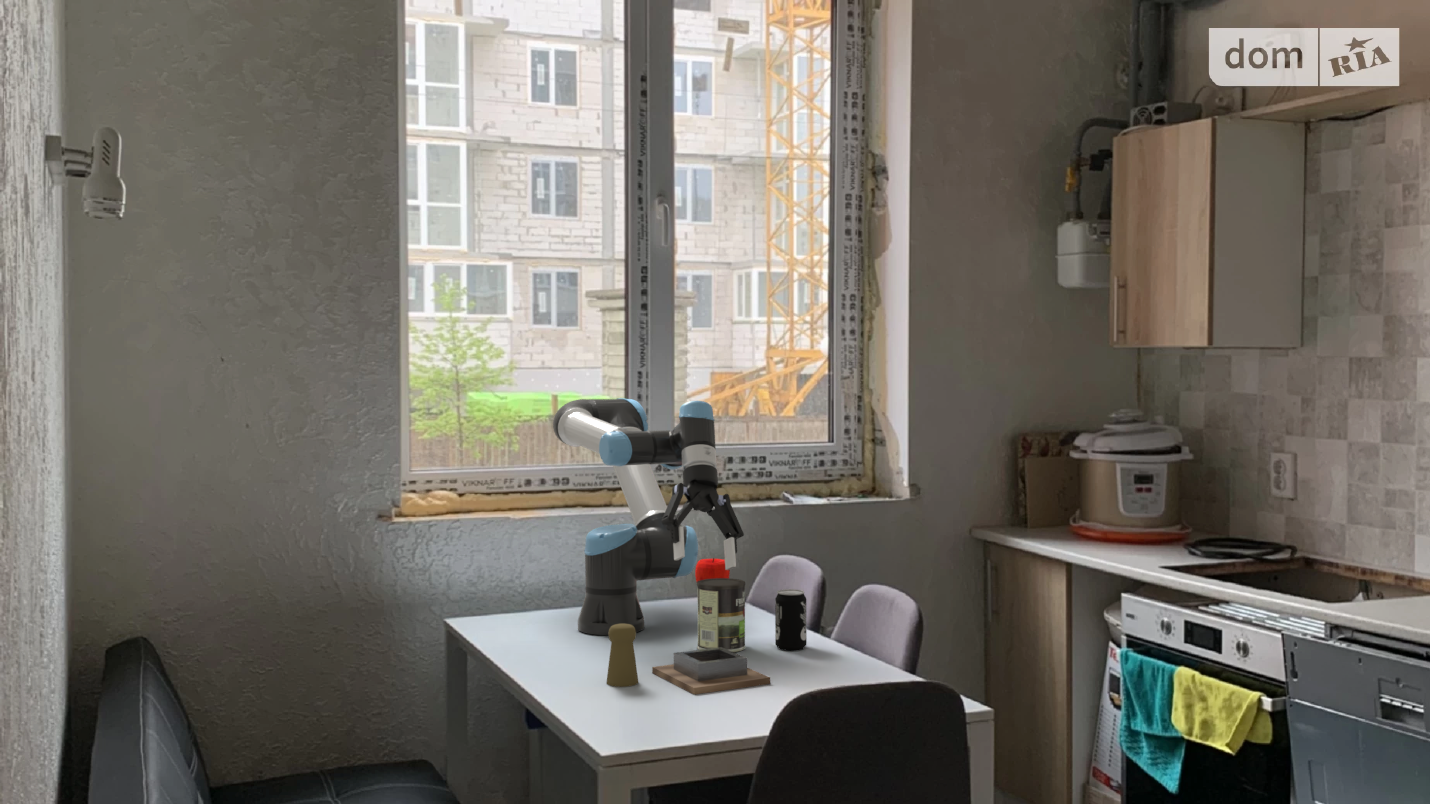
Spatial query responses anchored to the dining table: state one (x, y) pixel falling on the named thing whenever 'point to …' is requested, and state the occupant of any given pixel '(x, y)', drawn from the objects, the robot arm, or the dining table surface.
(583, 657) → the dining table surface
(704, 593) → the coffee can
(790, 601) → the beverage can
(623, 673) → the cork
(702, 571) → the apple
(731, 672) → the socket plate
